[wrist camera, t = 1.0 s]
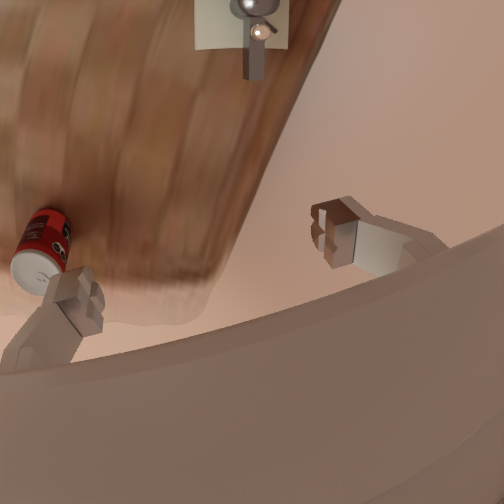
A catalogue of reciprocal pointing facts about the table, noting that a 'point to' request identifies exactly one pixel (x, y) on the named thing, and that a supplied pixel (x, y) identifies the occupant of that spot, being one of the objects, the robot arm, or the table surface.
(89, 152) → the table surface
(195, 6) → the stand plate
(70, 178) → the table surface
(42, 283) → the canned food
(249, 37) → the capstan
